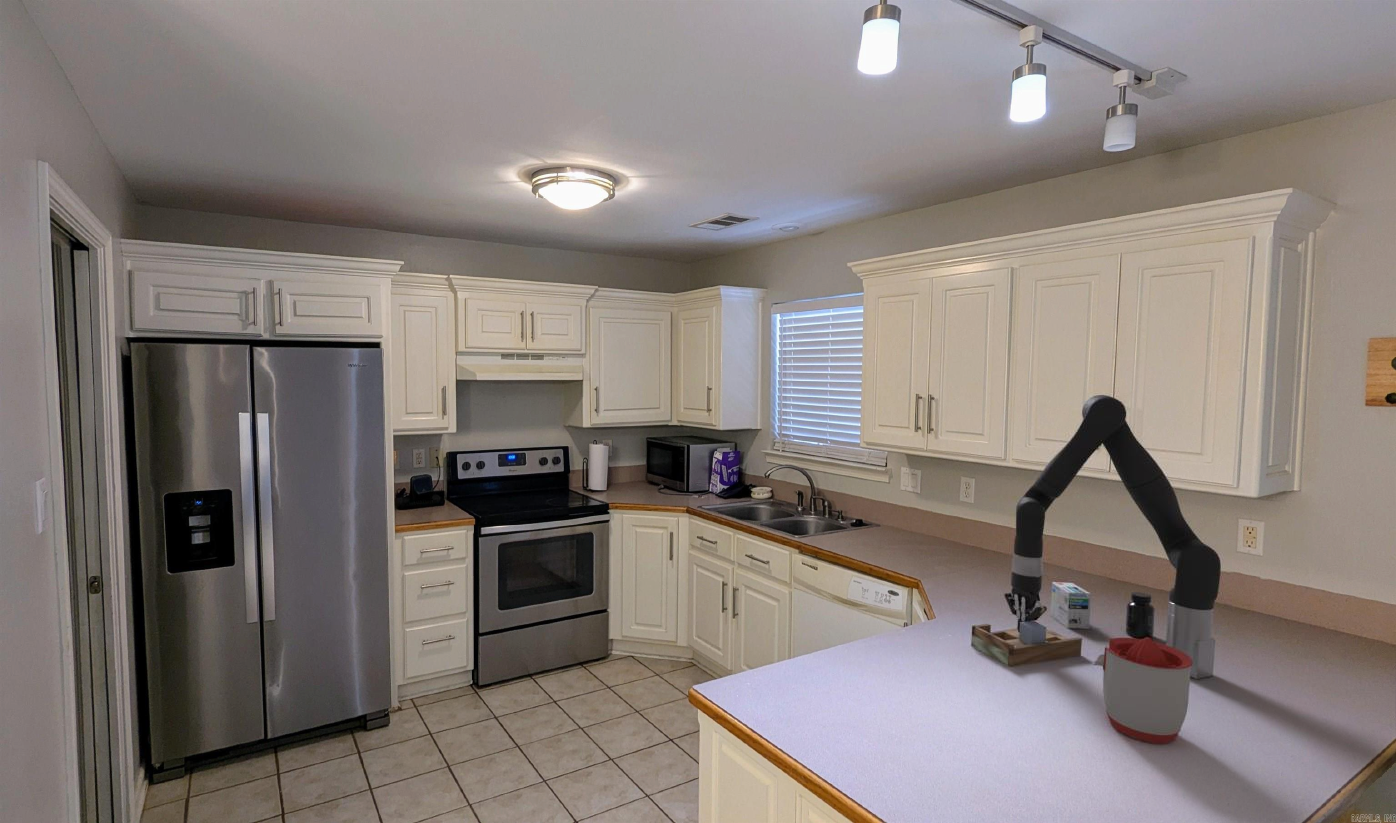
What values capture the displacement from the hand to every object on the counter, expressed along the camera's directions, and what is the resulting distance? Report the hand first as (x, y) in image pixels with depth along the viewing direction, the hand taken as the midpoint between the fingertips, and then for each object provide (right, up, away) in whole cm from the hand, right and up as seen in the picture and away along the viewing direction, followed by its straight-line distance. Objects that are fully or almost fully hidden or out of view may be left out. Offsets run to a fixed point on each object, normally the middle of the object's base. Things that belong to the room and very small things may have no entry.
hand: (1023, 633), depth 190 cm
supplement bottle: (+38, -4, +10) cm, 40 cm away
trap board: (-1, -4, -3) cm, 5 cm away
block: (0, -1, -6) cm, 6 cm away
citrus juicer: (+4, -7, -43) cm, 44 cm away
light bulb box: (+23, -3, +19) cm, 30 cm away
